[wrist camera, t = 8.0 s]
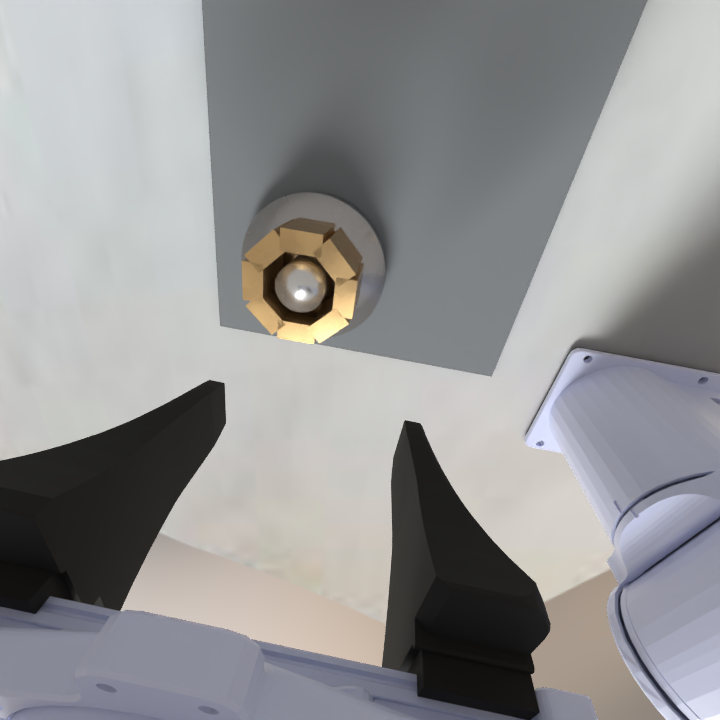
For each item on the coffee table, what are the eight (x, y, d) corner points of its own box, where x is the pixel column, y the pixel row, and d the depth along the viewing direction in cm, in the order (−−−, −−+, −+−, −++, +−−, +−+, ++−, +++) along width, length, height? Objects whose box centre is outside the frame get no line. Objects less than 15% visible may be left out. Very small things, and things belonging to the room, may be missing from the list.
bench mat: (674, -78, 13) (682, -84, 13) (490, 373, 23) (491, 376, 23) (198, -157, 13) (192, -166, 13) (222, 323, 23) (220, 325, 23)
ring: (369, 229, 18) (363, 241, 15) (354, 324, 20) (347, 350, 18) (265, 211, 18) (240, 220, 15) (264, 308, 21) (243, 331, 18)
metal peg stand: (398, 205, 18) (398, 216, 15) (372, 340, 22) (367, 373, 19) (248, 178, 18) (213, 182, 15) (249, 317, 22) (222, 346, 19)
